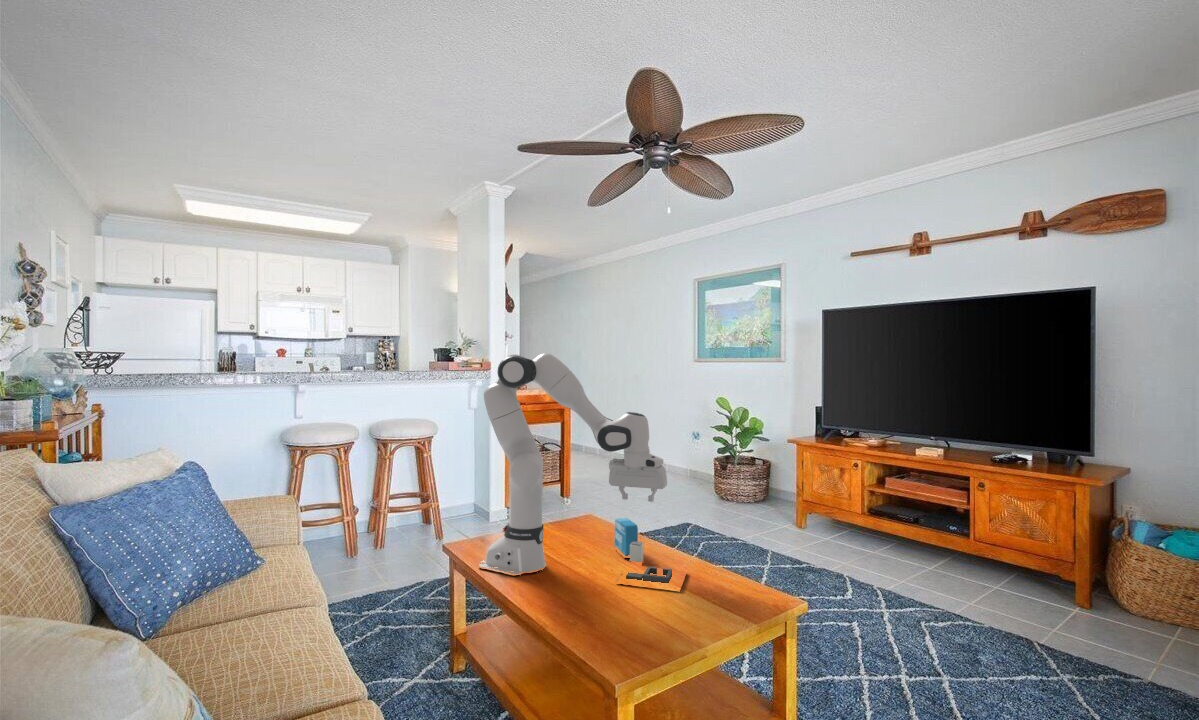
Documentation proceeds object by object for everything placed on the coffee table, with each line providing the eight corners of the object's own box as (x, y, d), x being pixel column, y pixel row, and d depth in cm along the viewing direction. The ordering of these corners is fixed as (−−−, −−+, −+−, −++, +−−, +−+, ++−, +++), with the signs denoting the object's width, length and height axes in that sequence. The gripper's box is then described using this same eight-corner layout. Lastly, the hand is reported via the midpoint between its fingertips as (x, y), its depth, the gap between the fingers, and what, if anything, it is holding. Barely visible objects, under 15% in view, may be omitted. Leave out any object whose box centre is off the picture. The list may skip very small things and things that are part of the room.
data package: (614, 549, 214) (614, 517, 214) (625, 548, 215) (626, 516, 216) (625, 560, 203) (626, 526, 203) (637, 559, 204) (638, 525, 204)
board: (616, 584, 180) (616, 574, 180) (628, 567, 195) (628, 558, 196) (680, 592, 175) (680, 581, 175) (687, 574, 190) (687, 564, 190)
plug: (629, 565, 197) (629, 544, 197) (632, 561, 202) (632, 540, 202) (640, 567, 196) (641, 545, 196) (643, 562, 201) (643, 541, 201)
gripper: (605, 459, 199) (606, 500, 198) (662, 462, 190) (663, 504, 190) (612, 456, 204) (613, 496, 204) (667, 459, 196) (669, 500, 196)
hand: (637, 500), depth 197 cm, fingers open, 8 cm apart
